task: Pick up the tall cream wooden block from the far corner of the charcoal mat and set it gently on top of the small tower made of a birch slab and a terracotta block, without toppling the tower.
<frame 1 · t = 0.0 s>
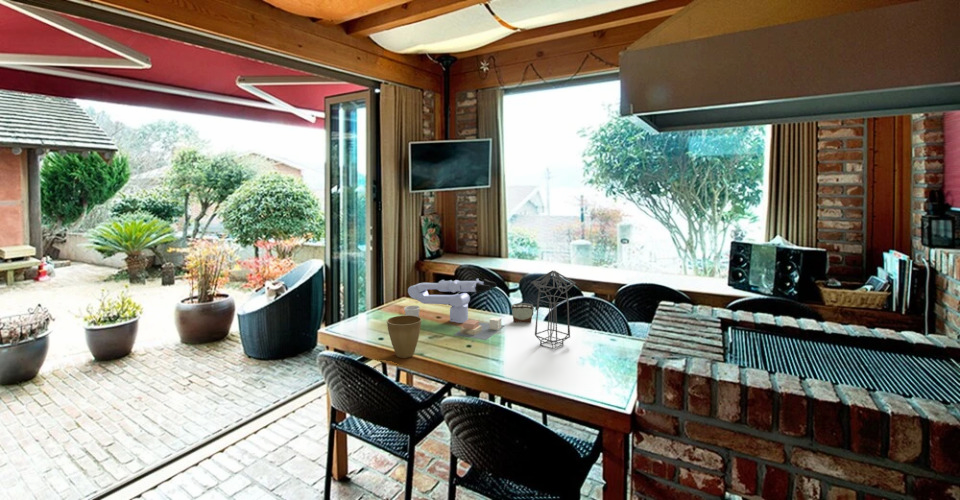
hand: (493, 286, 229), 22 cm above the table, tool horizontal, fingers open, 7 cm apart
middle block: (471, 326, 222), point 3 cm above the table, touching bottom slab
top block: (495, 328, 227), point 1 cm above the table, touching mat
geometric lantern: (552, 345, 204), on the table
dixie cup: (412, 326, 235), on the table
mat: (479, 331, 225), on the table
bottom slab: (471, 331, 222), point 1 cm above the table, touching mat, middle block
plant pot: (405, 355, 194), on the table
food container: (522, 322, 240), on the table
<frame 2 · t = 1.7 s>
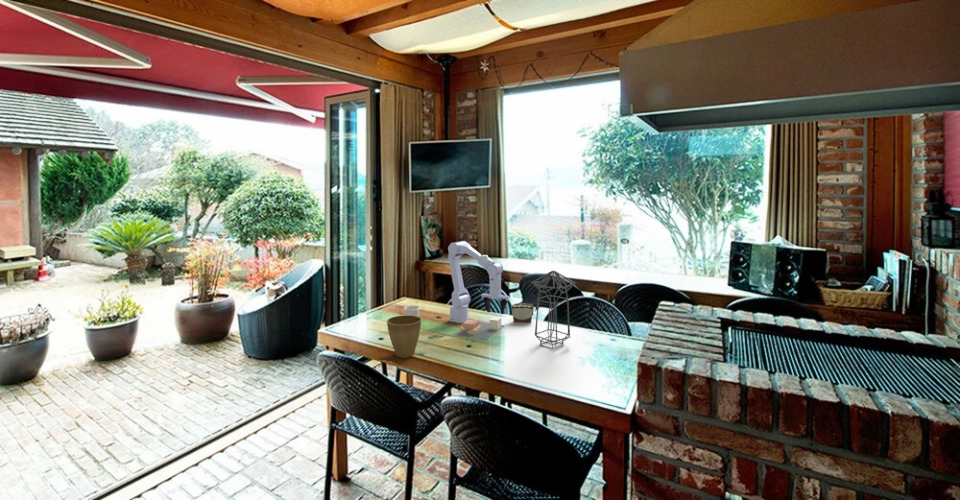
hand: (495, 312, 226), 9 cm above the table, tool pointing down, fingers open, 7 cm apart
nothing on the table moved.
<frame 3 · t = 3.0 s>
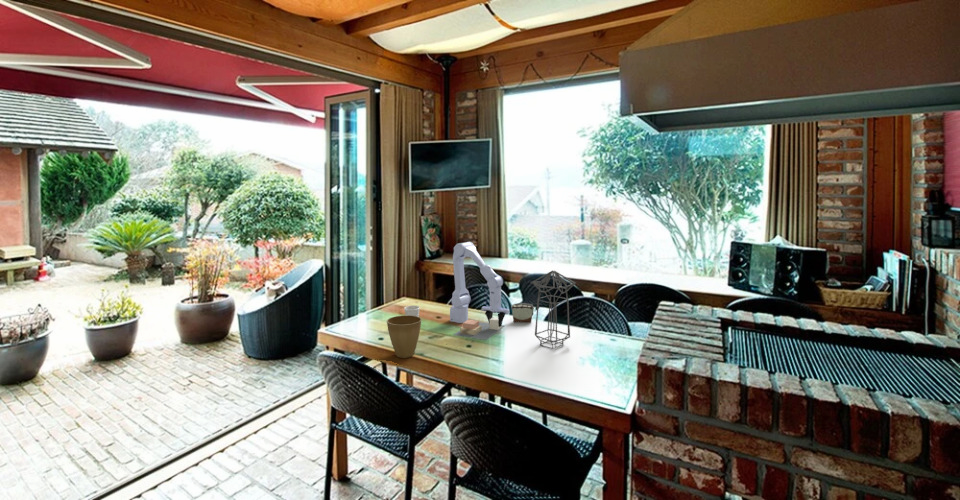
hand: (495, 325, 227), 2 cm above the table, tool pointing down, fingers closed on top block, 5 cm apart
top block: (495, 328, 227), point 1 cm above the table, touching gripper, mat
everything else where it was.
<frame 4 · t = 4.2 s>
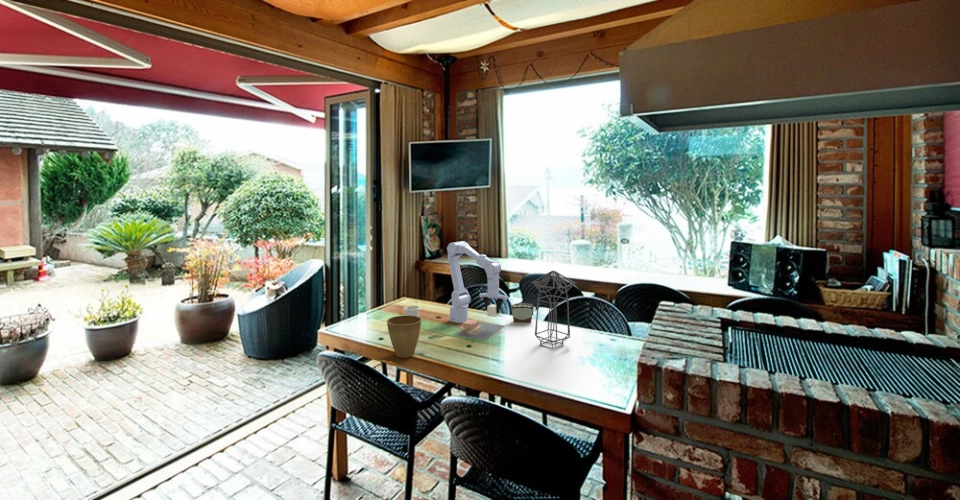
hand: (493, 312, 226), 9 cm above the table, tool pointing down, fingers closed on top block, 5 cm apart
top block: (493, 315, 226), point 8 cm above the table, touching gripper
everything else where it was.
when the fingers open (8 cm above the table, at t = 5.7 s): top block stays where it is, resting on middle block.
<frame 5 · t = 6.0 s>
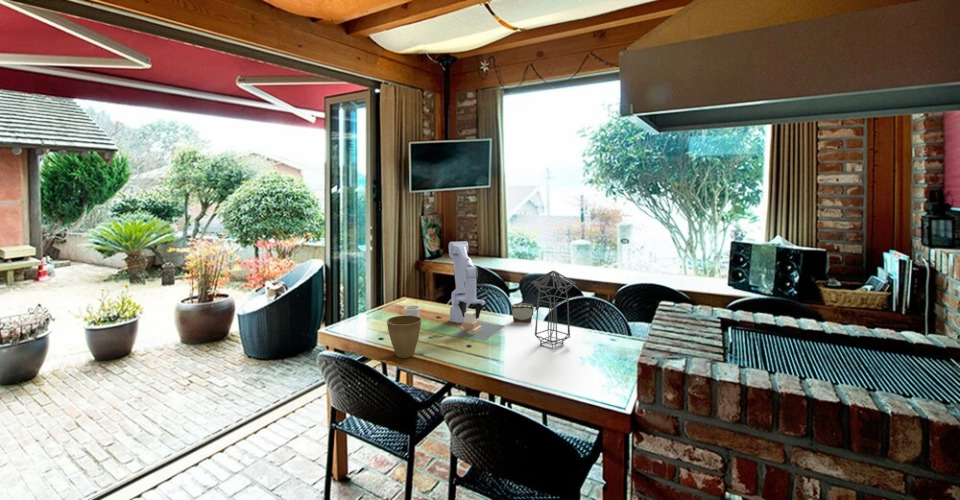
hand: (470, 317, 221), 8 cm above the table, tool pointing down, fingers open, 7 cm apart
middle block: (470, 326, 222), point 3 cm above the table, touching bottom slab, top block
top block: (470, 322, 222), point 6 cm above the table, touching middle block
everything else where it was.
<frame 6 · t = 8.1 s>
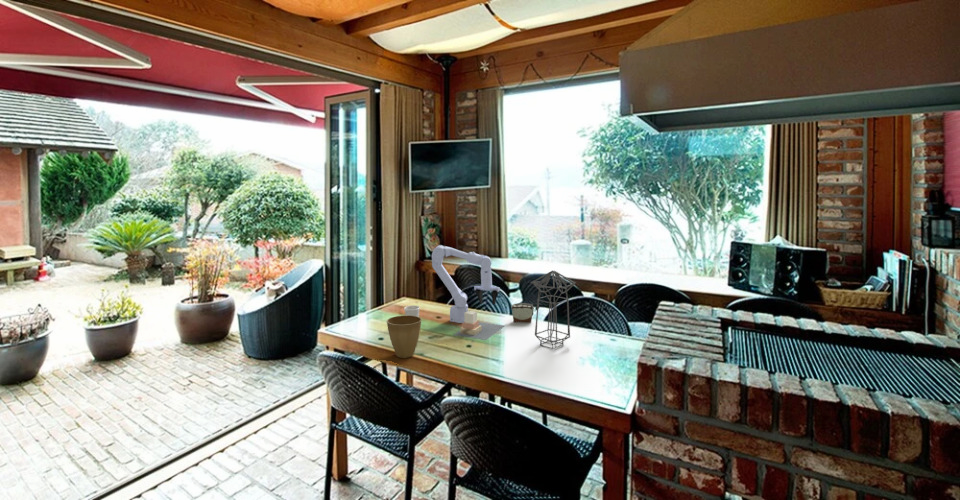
hand: (487, 303, 239), 10 cm above the table, tool pointing down, fingers open, 7 cm apart
nothing on the table moved.
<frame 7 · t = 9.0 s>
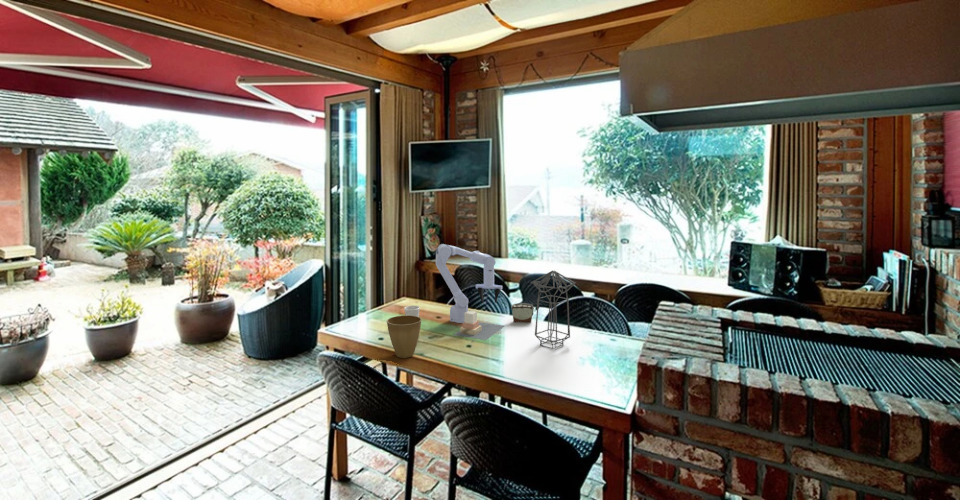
hand: (489, 301, 243), 10 cm above the table, tool pointing down, fingers open, 7 cm apart
nothing on the table moved.
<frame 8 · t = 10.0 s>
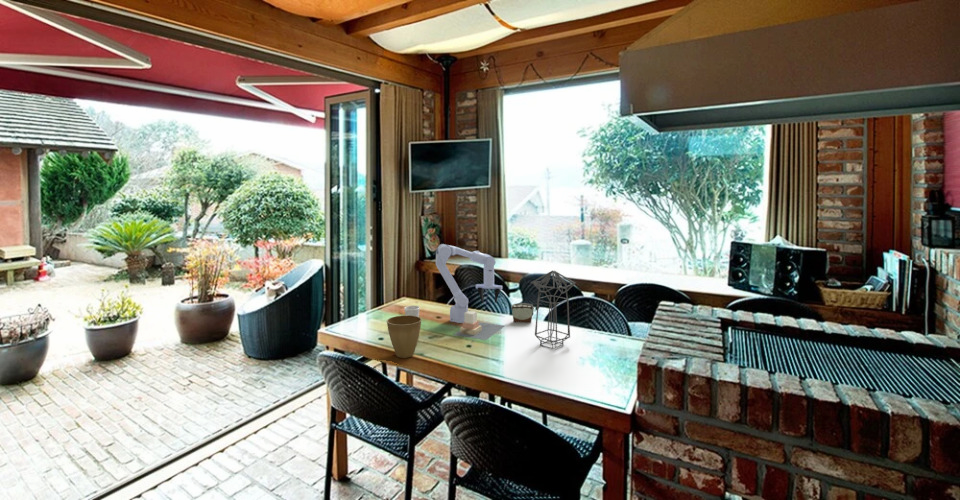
hand: (489, 301, 243), 10 cm above the table, tool pointing down, fingers open, 7 cm apart
nothing on the table moved.
at the end: top block 0.1 cm off-centre on the middle block, point 2.5 cm above the middle block's base; middle block 0.0 cm from the target spot, point 3.3 cm above the table; top block tilted 0° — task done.
